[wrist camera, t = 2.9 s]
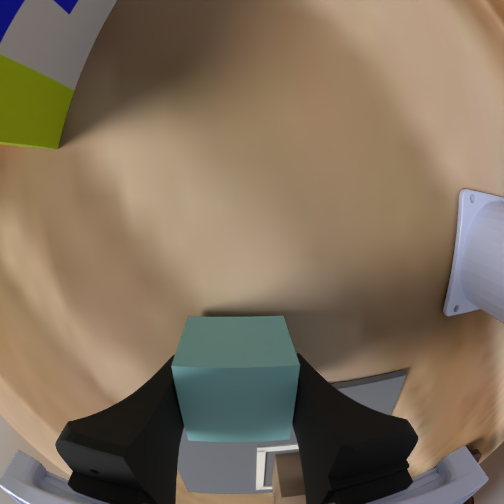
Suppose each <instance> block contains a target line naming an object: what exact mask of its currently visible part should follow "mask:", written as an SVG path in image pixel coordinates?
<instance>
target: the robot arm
mask: <svg viewBox="0 0 504 504" xmlns="http://www.w3.org/2000/svg"><path fill="white" fill-rule="evenodd" d="M470 197H471V199H470ZM454 307H455V308H454ZM479 309H482V310H483V311H485V312H486V313H488V314H490V315H491V316H493V317H494V318H496V319H498V320H499V321H501V322H502V323H504V198H503V197H499V196H495V195H491V194H487V193H482V192H478V191H473V190H468V189H462V190H461V191H460V194H459V209H458V223H457V233H456V242H455V250H454V257H453V264H452V270H451V275H450V281H449V286H448V291H447V295H446V300H445V304H444V308H443V312H444V314H445V315H446V316H453V315H458V314H462V313H466V312H471V311H475V310H479ZM296 355H297V358H298V361H299V364H300V369H299V377H298V385H297V393H296V400H295V407H294V414H293V421H292V426H293V429H294V432H295V436H296V439H297V443H298V447H299V453H300V459H301V466H302V473H303V480H304V488H305V496H306V504H463V503H464V502H465V501H466V500H467V499H469V498H470V497H471V496H472V495H473V494H474V493H475V492H476V491H477V490H478V489H480V488H481V487H482V486H483V485H484V484H485V483H486V482H487V481H488V477H487V476H486V474H485V473H484V472H483V470H482V469H481V467H480V466H479V464H478V463H477V461H476V460H475V459H474V457H473V456H472V454H471V453H470V452H469V450H468V449H467V448H466V446H462V447H461V448H459V449H457V450H455V451H453V452H452V453H450V454H448V455H446V456H445V457H444V458H442V459H441V460H440V462H439V463H438V464H437V466H436V467H435V468H433V469H431V470H429V471H427V472H425V473H422V474H420V475H418V476H416V477H413V478H411V476H410V474H409V472H408V470H407V469H408V468H409V464H408V462H407V460H406V459H407V458H408V456H409V455H410V453H411V452H412V450H413V449H414V447H415V445H416V443H417V441H418V436H417V434H416V432H415V431H414V429H413V427H412V426H411V424H410V423H409V422H408V421H407V419H403V418H399V417H395V416H391V415H387V414H384V413H381V412H379V411H376V410H373V409H371V408H369V407H366V406H364V405H362V404H360V403H358V402H356V401H355V400H353V399H351V398H349V397H348V396H346V395H345V394H343V393H342V392H340V391H339V390H337V389H336V388H335V387H333V386H332V385H331V384H330V383H329V382H327V381H326V380H325V379H324V378H323V377H322V376H321V375H320V374H319V373H318V372H317V371H316V370H315V369H314V368H313V367H312V366H311V365H310V364H309V363H308V362H307V361H306V360H305V359H304V358H303V357H302V356H301V355H300V354H299V353H298V354H296ZM174 356H175V355H173V356H172V357H171V358H170V359H169V360H168V361H167V362H166V363H165V365H164V366H163V367H162V368H161V369H160V370H159V371H158V372H157V373H156V374H155V375H154V376H153V377H152V378H151V379H150V380H148V381H147V382H146V383H145V384H144V385H143V386H142V387H140V388H139V389H138V390H137V391H135V392H134V393H133V394H131V395H130V396H128V397H127V398H125V399H124V400H122V401H120V402H119V403H117V404H115V405H113V406H111V407H109V408H107V409H105V410H103V411H101V412H98V413H96V414H93V415H91V416H88V417H84V418H81V419H77V420H74V421H69V422H68V423H67V424H66V426H65V428H64V429H63V431H62V433H61V434H60V436H59V438H58V440H57V441H56V444H55V445H56V449H57V451H58V453H59V454H60V456H61V457H62V458H63V460H64V461H65V462H66V463H67V465H68V466H69V467H70V468H71V469H72V471H73V472H72V475H71V477H70V479H69V481H68V480H66V479H64V478H61V477H59V476H57V475H55V474H52V473H50V472H48V471H46V469H45V468H44V466H43V465H42V464H41V463H40V462H39V461H37V460H36V459H34V458H33V457H30V456H29V455H27V454H25V453H23V452H22V451H20V450H18V451H17V452H16V453H15V455H14V457H13V458H12V460H11V462H10V463H9V465H8V467H7V468H6V470H5V472H4V473H3V475H2V477H1V479H0V487H1V488H2V489H3V490H4V491H5V492H6V493H7V494H8V495H10V496H11V497H12V498H13V499H14V500H15V501H17V502H18V503H19V504H175V499H176V477H177V465H178V455H179V447H180V442H181V437H182V433H183V429H184V422H183V418H182V414H181V410H180V405H179V401H178V397H177V392H176V387H175V383H174V378H173V372H172V367H171V365H172V362H173V359H174Z"/></svg>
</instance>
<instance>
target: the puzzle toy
mask: <svg viewBox="0 0 504 504" xmlns="http://www.w3.org/2000/svg"><path fill="white" fill-rule="evenodd" d="M116 2H117V0H0V146H22V147H38V148H50V149H58V146H59V142H60V138H61V134H62V130H63V126H64V122H65V119H66V115H67V112H68V109H69V106H70V102H71V99H72V96H73V93H74V91H75V88H76V85H77V82H78V80H79V77H80V74H81V72H82V69H83V67H84V64H85V62H86V60H87V57H88V55H89V53H90V51H91V49H92V46H93V44H94V42H95V40H96V38H97V36H98V34H99V32H100V30H101V28H102V26H103V24H104V23H105V21H106V19H107V17H108V15H109V14H110V12H111V10H112V8H113V7H114V5H115V3H116Z"/></svg>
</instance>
